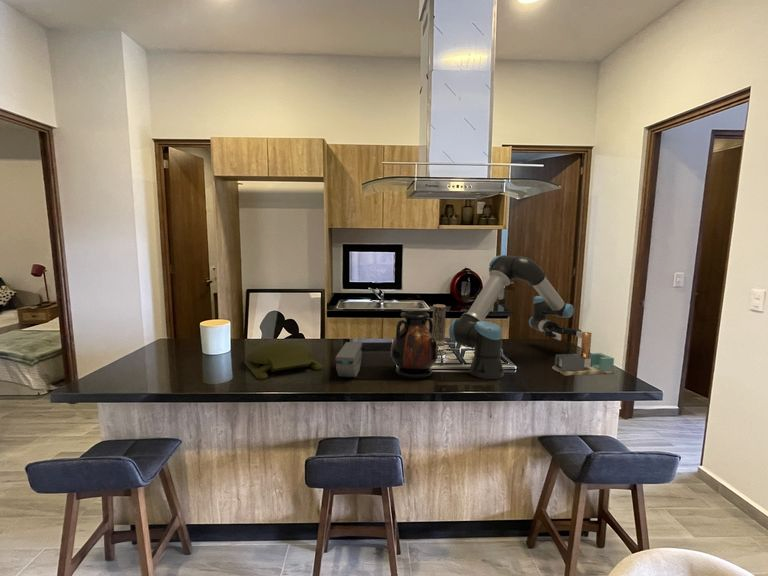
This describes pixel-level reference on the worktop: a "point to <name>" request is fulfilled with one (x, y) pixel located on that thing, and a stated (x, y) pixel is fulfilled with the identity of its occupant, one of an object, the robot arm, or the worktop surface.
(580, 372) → the base board
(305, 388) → the worktop surface
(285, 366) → the olive folded cloth
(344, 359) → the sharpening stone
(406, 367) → the amphora vase
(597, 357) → the socket
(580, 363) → the sleeve
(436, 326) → the wooden log
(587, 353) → the slip bolt
